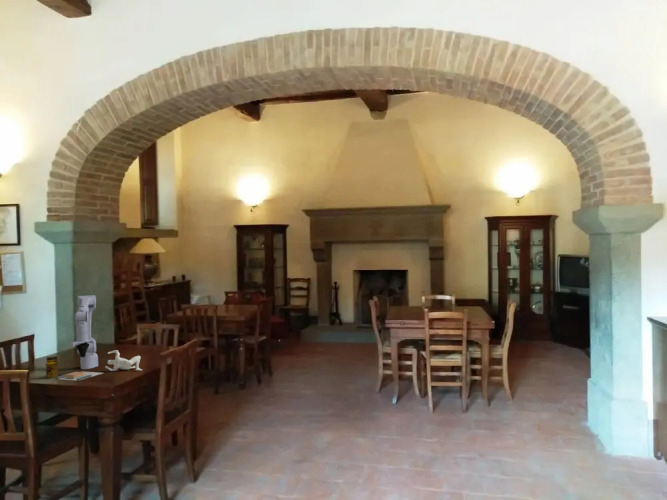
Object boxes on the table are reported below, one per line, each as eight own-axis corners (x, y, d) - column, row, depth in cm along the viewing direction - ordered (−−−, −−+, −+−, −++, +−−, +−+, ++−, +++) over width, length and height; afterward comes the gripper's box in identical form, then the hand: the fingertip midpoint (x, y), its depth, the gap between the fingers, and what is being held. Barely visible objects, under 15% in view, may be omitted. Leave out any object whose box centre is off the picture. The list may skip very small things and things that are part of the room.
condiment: (43, 380, 287) (42, 358, 287) (49, 377, 295) (48, 355, 295) (57, 379, 288) (57, 357, 288) (63, 376, 296) (62, 354, 296)
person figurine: (139, 349, 313) (108, 348, 302) (146, 357, 304) (114, 356, 292) (134, 370, 314) (103, 370, 302) (141, 378, 304) (109, 378, 293)
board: (82, 372, 303) (82, 369, 303) (104, 374, 298) (104, 371, 298) (56, 380, 286) (55, 377, 286) (78, 382, 281) (78, 378, 281)
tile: (75, 371, 294) (65, 374, 287) (83, 372, 292) (73, 375, 285) (75, 375, 294) (65, 378, 287) (84, 375, 292) (74, 378, 285)
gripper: (77, 335, 288) (78, 359, 288) (97, 331, 302) (98, 354, 302) (67, 334, 290) (68, 359, 290) (87, 330, 304) (88, 354, 304)
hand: (82, 357), depth 296 cm, fingers closed
